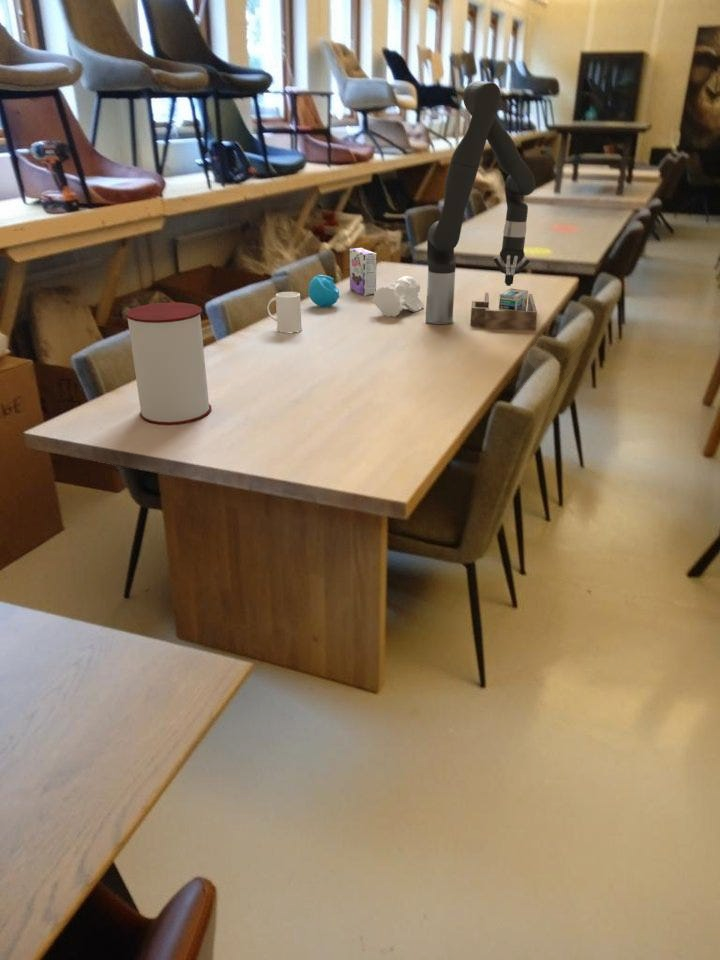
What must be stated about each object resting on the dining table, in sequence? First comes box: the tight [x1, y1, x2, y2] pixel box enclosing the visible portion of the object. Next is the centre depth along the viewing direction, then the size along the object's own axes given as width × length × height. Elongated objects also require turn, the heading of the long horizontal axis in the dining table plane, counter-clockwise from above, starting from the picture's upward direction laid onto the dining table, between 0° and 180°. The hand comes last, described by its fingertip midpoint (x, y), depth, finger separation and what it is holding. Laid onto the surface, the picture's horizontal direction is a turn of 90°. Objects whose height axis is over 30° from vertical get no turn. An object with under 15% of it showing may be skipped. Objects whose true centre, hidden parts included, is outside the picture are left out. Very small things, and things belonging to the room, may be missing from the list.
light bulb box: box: [498, 287, 529, 311], centre depth 257 cm, size 11×7×11 cm, turn 150°
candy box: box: [349, 247, 378, 297], centre depth 299 cm, size 14×6×16 cm, turn 25°
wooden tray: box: [470, 292, 538, 331], centre depth 263 cm, size 22×27×6 cm
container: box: [125, 301, 212, 426], centre depth 178 cm, size 17×17×25 cm
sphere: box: [308, 274, 340, 308], centre depth 278 cm, size 12×11×12 cm
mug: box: [267, 291, 303, 333], centre depth 249 cm, size 12×8×12 cm
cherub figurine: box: [371, 275, 425, 318], centre depth 272 cm, size 13×12×20 cm
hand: (508, 285), depth 265 cm, fingers closed
